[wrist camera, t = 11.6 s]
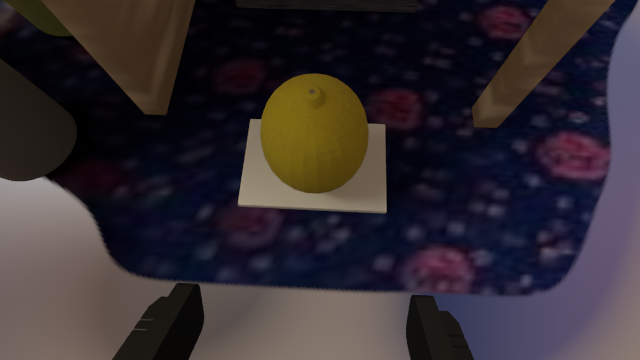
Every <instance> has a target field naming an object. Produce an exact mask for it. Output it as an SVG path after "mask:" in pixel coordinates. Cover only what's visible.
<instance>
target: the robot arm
mask: <svg viewBox="0 0 640 360" xmlns="http://www.w3.org/2000/svg"><path fill="white" fill-rule="evenodd" d="M203 323H204V311H203V305H202V297H201V291H200V286H199V285H198V284H189V283H177V284H176V285H175V287H174V288H173V290H172V291H171V293H170V295H169V296H168V297H160V298H159V299H158V300H157V301H155V302H154V303H153V304H151V305H150V306H149V307H148V309H147V310H146V311H145V313H144V314H143V316H142V317H141V320H140V321H139V322H138V323H137V324H136V326H135V328H134V330H132V332H131V333H130V335H129V336H128V337H127V339H126V340H125V342H124V343H123V345H122V346H121V348H120V349H119V350H118V352H117V353H116V355H115V356H114V358H113V359H112V360H189V357H190V355H191V353H192V351H193V349H194V346H195V344H196V342H197V340H198V338H199V336H200V333H201V331H202V327H203ZM406 339H407V345H408V349H409V354H410V358H411V360H474V359H473V356H472V354H471V351H470V349H469V348H468V344H467V342H466V339H465V338H464V334H463V332H462V330H461V327H460V325H459V323H458V322H457V320H456V319H454V317H453V316H452V315H451V314H450V313H449V312H448V311H439V310H438V308H437V305H436V302H435V299H434V297H433V296H427V295H412V296H411V299H410V305H409V312H408V318H407V324H406Z"/></svg>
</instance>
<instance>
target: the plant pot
mask: <svg viewBox="0 0 640 360" xmlns="http://www.w3.org/2000/svg"><path fill="white" fill-rule="evenodd" d="M4 1H5V2H6V3H7V4H9V5H10V6H11V7H12V8H14V9H15V10H16V11H17V12H19V13H20V14H21V15H22V16H24V17H25V18H26V19H27V20H29V21H30V22H31V23H33V24H34V25H35V26H36V27H38V28H39V29H40V30H42V31H43V32H45V33H47V34H50V35H54V36H73V35H72V34H71V33H70V32H69V31H68V29H67V28H66V27H65V26H64V25H63V24H62V23H61V22H60V21H59V20H58V19H57V17H56V16H55V15H54V14H53V13H52V12H51V11H50V10H49V9H48V8H47V6H46V5H45V4H44V3H43V2H42V1H41V0H4Z"/></svg>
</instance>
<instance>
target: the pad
mask: <svg viewBox="0 0 640 360" xmlns="http://www.w3.org/2000/svg"><path fill="white" fill-rule="evenodd" d="M368 129H369V136H368V147H367V152H366V154H365V157H364V160H363V162H362V165H361V167H360V168H359V169H358V171H357V172H356V173H355V175H354V176H353V177H352V178H351V179H350V180H349V181H348V182H346V183H345V184H344V185H343V186H341V187H339V188H337V189H335V190H333V191H330V192H325V193H320V194H314V193H305V192H301V191H298V190H295V189H293V188H291V187H290V186H288V185H286V184H285V183H283V182H282V181H281V180H280V179H279V178H278V177H277V176H276V175H275V174H274V173H273V171H272V170H271V168H270V166H269V164H268V163H267V161H266V159H265V157H264V153H263V149H262V145H261V139H260V131H261V119H250V125H249V132H248V139H247V146H246V152H245V159H244V166H243V172H242V179H241V186H240V193H239V199H238V206H239V207H260V208H280V209H301V210H322V211H342V212H363V213H384V214H386V212H387V205H386V144H385V124H368Z"/></svg>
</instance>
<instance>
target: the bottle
mask: <svg viewBox="0 0 640 360" xmlns="http://www.w3.org/2000/svg"><path fill="white" fill-rule="evenodd" d="M76 137H77V126H76V123H75V120H74V119H73V117H72V116H71V115H70V114H69V113H68V112H67V111H66V110H65V109H64V108H63V107H61V106H60V105H59V104H58V103H57V102H55V101H54V100H53V99H52V98H50V97H49V96H48V95H47V94H45V93H44V92H43V91H41V90H40V89H39V88H38V87H36V86H35V85H34V84H33V83H31V82H30V81H29V80H27V79H26V78H25V77H24V76H22V75H21V74H20V73H18V72H17V71H16V70H15V69H13V68H12V67H11V66H9V65H8V64H7V63H6V62H4V61H3V60H2V59H0V177H1V178H4V179H7V180H11V181H29V180H33V179H36V178H40V177H42V176H44V175H46V174H48V173H50V172H51V171H53V170H55V169H56V168H57V167H58V166H60V165H61V164H62V163H63V162H64V161H65V160H66V158H67V157H68V155H69V154H70V153H71V151H72V149H73V147H74V145H75V142H76Z"/></svg>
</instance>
